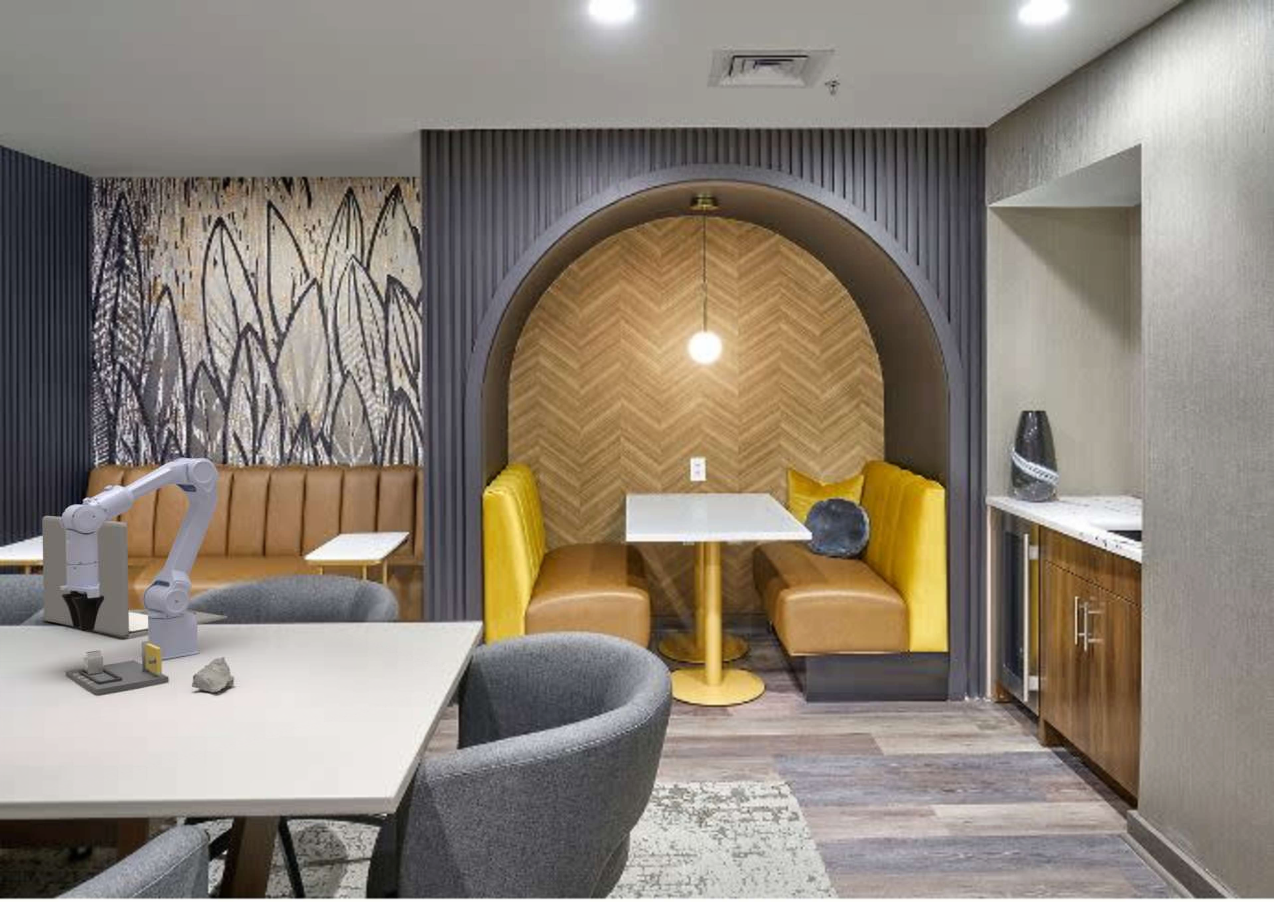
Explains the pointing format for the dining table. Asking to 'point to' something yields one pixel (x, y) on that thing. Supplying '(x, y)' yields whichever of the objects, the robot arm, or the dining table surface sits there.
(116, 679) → the console
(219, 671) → the stone
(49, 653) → the dining table surface
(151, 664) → the door
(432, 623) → the dining table surface
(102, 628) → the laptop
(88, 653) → the fader knob
